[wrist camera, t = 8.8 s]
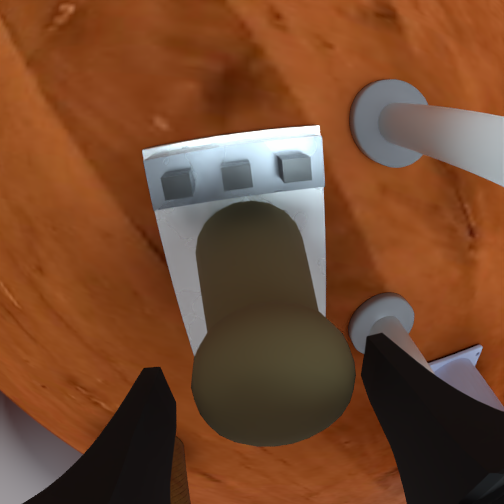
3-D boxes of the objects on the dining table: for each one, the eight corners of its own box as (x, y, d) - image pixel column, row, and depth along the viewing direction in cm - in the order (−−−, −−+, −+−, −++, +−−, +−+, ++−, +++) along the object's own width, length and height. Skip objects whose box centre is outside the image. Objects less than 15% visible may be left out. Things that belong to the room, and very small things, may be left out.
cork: (297, 297, 20) (352, 455, 10) (197, 298, 19) (186, 468, 9) (308, 201, 17) (411, 335, 7) (193, 200, 17) (157, 348, 7)
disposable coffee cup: (89, 429, 26) (67, 529, 15) (155, 407, 25) (141, 533, 14) (152, 468, 30) (146, 557, 19) (218, 451, 29) (223, 555, 18)
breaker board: (322, 333, 22) (337, 372, 19) (195, 351, 22) (193, 394, 18) (315, 124, 16) (340, 131, 12) (145, 148, 16) (124, 161, 12)
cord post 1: (423, 162, 17) (563, 231, 7) (351, 166, 17) (484, 250, 7) (421, 82, 15) (575, 97, 5) (345, 78, 15) (495, 69, 5)
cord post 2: (403, 338, 24) (466, 443, 14) (346, 352, 23) (397, 473, 14) (412, 286, 21) (499, 395, 11) (350, 299, 21) (421, 430, 11)
